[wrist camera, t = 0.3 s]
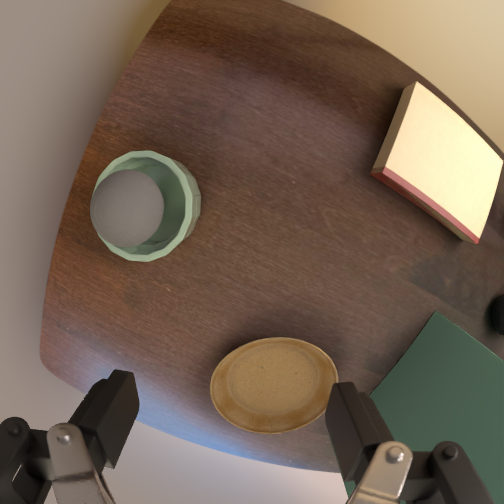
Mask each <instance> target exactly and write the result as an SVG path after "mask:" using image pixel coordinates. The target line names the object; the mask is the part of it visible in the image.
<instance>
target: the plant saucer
mask: <svg viewBox="0 0 504 504" xmlns="http://www.w3.org/2000/svg"><path fill="white" fill-rule="evenodd" d="M334 383H338V373H337V369H336V367H335V365H334V363H333V361H332V360H331V358H330V357H329V356H328V355H327V354H326V353H325V352H324V351H323V350H321V349H320V348H318V347H317V346H315V345H313V344H311V343H308V342H306V341H303V340H299V339H294V338H286V337H273V338H265V339H260V340H256V341H253V342H250V343H247V344H245V345H243V346H241V347H239V348H237V349H235V350H234V351H232V352H231V353H229V354H228V355H227V356H226V357H225V358H223V359H222V361H221V362H220V363H219V364H218V366H217V367H216V369H215V371H214V373H213V375H212V378H211V382H210V394H211V399H212V402H213V404H214V406H215V408H216V409H217V411H218V412H219V413H220V414H221V416H222V417H223V418H225V419H226V420H227V421H228V422H230V423H231V424H233V425H235V426H236V427H239V428H241V429H244V430H247V431H250V432H255V433H262V434H278V433H285V432H289V431H293V430H296V429H299V428H301V427H304V426H306V425H308V424H309V423H311V422H313V421H314V420H316V419H317V418H318V417H320V416H321V415H322V414H323V413H324V412H325V411H326V408H327V404H328V400H329V396H330V393H331V389H332V386H333V384H334Z"/></svg>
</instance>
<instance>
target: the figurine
mask: <svg viewBox="0 0 504 504" xmlns="http://www.w3.org/2000/svg"><path fill="white" fill-rule="evenodd" d="M493 322H494V327H495V330H496V331H497V332H498V333H499V334H500V335H504V294H503V295H501V296H499V297H498V298H497V300H496V301H495V303H494V307H493Z"/></svg>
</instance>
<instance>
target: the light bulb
mask: <svg viewBox="0 0 504 504" xmlns="http://www.w3.org/2000/svg"><path fill="white" fill-rule="evenodd" d="M164 207H165V200H164V197H163V196H162V193H161V191H160V189H159V187H158V186H157V184H156V183H155V182H154V181H153V180H152V179H151V178H150V177H149V176H148V175H146V174H144V173H142V172H139V171H136V170H120V171H116V172H114V173H112V174H110V175H108V176H107V177H106V178H104V179H103V180H102V181H101V182H100V183H99V185H98V186H97V188H96V189H95V191H94V194H93V196H92V199H91V204H90V214H91V220H92V223H93V225H94V227H95V229H96V231H97V232H98V234H99V235H100V236H101V237H102V238H103V239H104V240H106V241H107V242H109V243H111V244H113V245H116V246H120V247H133V246H136V245H139V244H141V243H143V242H145V241H146V240H148V239H149V238H150V237H151V236H152V235H153V234H154V233H155V232H156V230H157V229H158V227H159V225H160V223H161V221H162V217H163V213H164Z"/></svg>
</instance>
